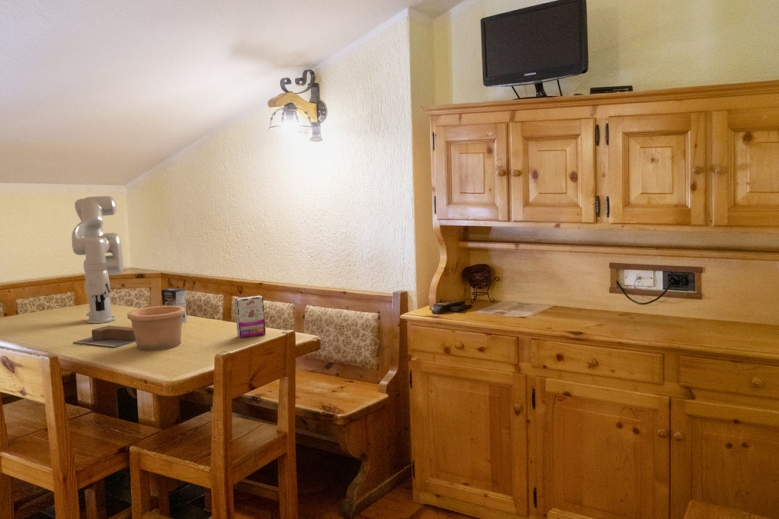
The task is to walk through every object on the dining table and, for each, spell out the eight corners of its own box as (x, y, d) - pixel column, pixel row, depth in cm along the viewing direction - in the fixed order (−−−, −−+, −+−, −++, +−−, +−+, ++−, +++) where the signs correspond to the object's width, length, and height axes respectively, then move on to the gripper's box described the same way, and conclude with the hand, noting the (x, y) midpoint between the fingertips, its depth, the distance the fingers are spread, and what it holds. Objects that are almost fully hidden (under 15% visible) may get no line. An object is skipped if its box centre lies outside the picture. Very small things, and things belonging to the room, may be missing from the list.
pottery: (131, 355, 244) (128, 318, 243) (129, 343, 264) (126, 309, 263) (190, 348, 253) (187, 312, 251) (184, 336, 273) (181, 303, 271)
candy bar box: (262, 332, 275) (260, 294, 273) (266, 334, 271) (263, 296, 269) (236, 336, 270) (234, 297, 268) (239, 338, 266) (237, 299, 264)
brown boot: (92, 340, 269) (123, 343, 262) (91, 329, 269) (122, 332, 261) (109, 335, 277) (140, 338, 270) (108, 325, 277) (139, 327, 269)
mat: (73, 343, 268) (73, 341, 267) (108, 333, 284) (108, 332, 284) (114, 348, 257) (114, 346, 257) (148, 337, 273) (148, 336, 273)
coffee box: (163, 323, 301) (160, 289, 299) (173, 320, 307) (171, 287, 305) (177, 324, 297) (174, 290, 295) (187, 321, 303) (185, 288, 301)
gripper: (76, 268, 269) (80, 311, 271) (101, 269, 262) (105, 313, 264) (91, 266, 275) (95, 308, 278) (116, 266, 269) (120, 309, 271)
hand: (100, 310), depth 271 cm, fingers closed
